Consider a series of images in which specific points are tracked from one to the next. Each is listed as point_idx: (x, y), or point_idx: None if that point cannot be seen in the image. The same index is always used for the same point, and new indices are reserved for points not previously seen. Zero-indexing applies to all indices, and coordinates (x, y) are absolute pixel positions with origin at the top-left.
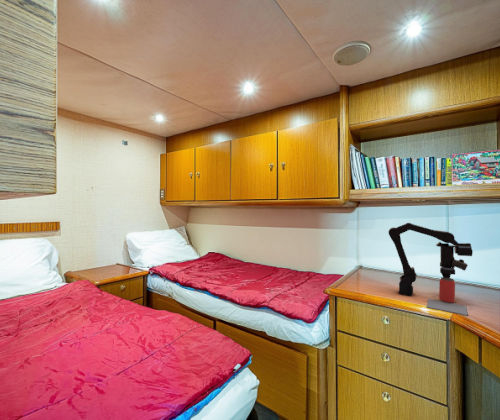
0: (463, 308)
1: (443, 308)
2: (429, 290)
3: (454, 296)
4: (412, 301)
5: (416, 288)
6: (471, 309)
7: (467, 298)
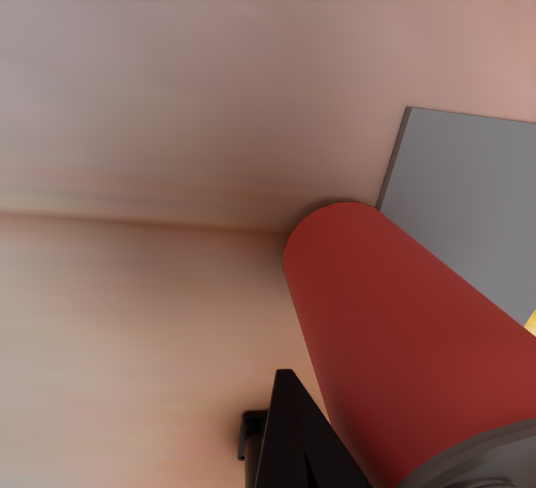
0: (500, 149)
1: (523, 279)
2: (56, 341)
3: (396, 227)
4: None
5: (81, 404)
6: (473, 73)
7: (52, 23)
